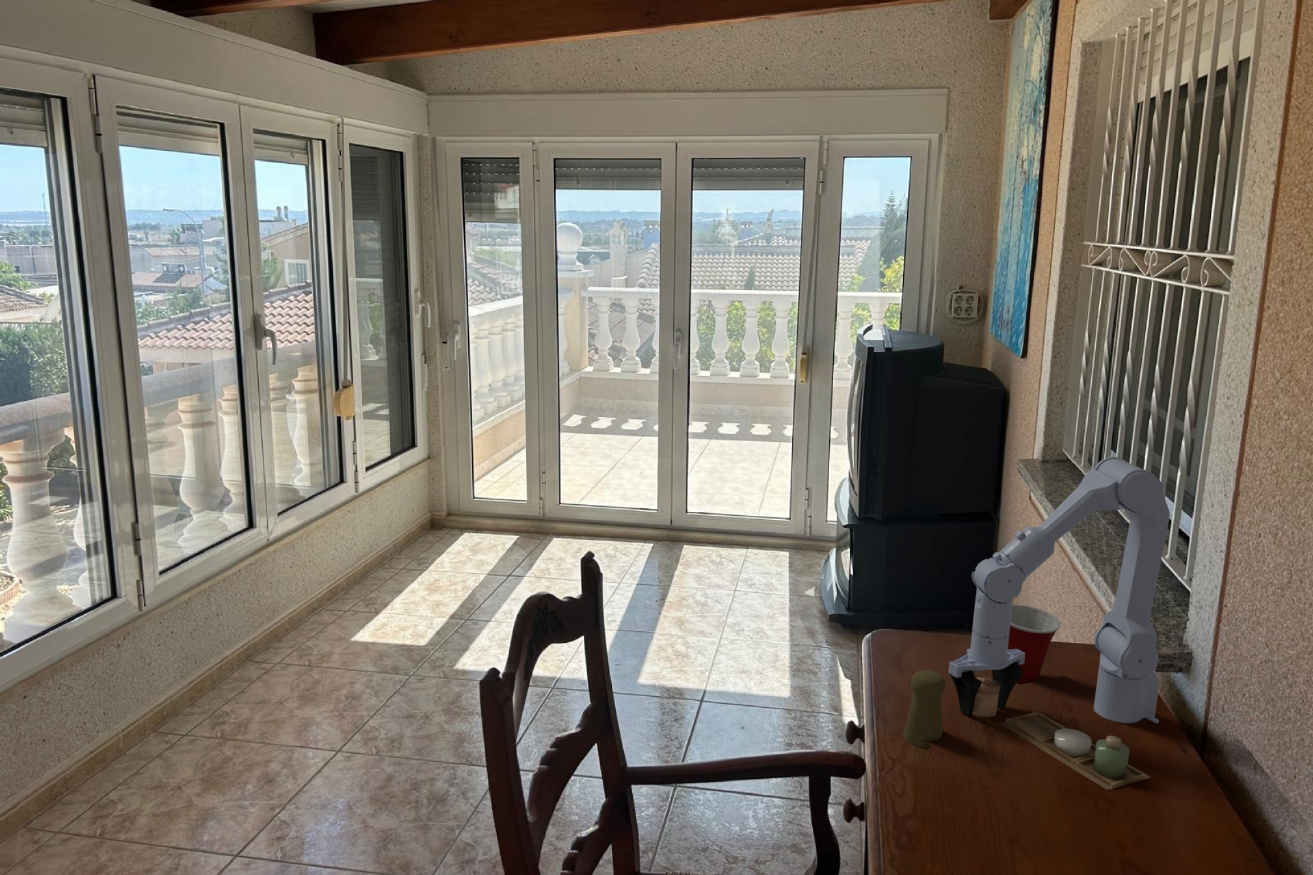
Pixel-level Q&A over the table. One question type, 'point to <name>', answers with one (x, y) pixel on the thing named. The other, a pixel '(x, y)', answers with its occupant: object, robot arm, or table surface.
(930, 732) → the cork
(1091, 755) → the tray
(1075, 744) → the white rounded disc
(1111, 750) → the green jar
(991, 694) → the spice jar
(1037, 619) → the plastic cup
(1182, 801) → the table surface
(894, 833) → the table surface
